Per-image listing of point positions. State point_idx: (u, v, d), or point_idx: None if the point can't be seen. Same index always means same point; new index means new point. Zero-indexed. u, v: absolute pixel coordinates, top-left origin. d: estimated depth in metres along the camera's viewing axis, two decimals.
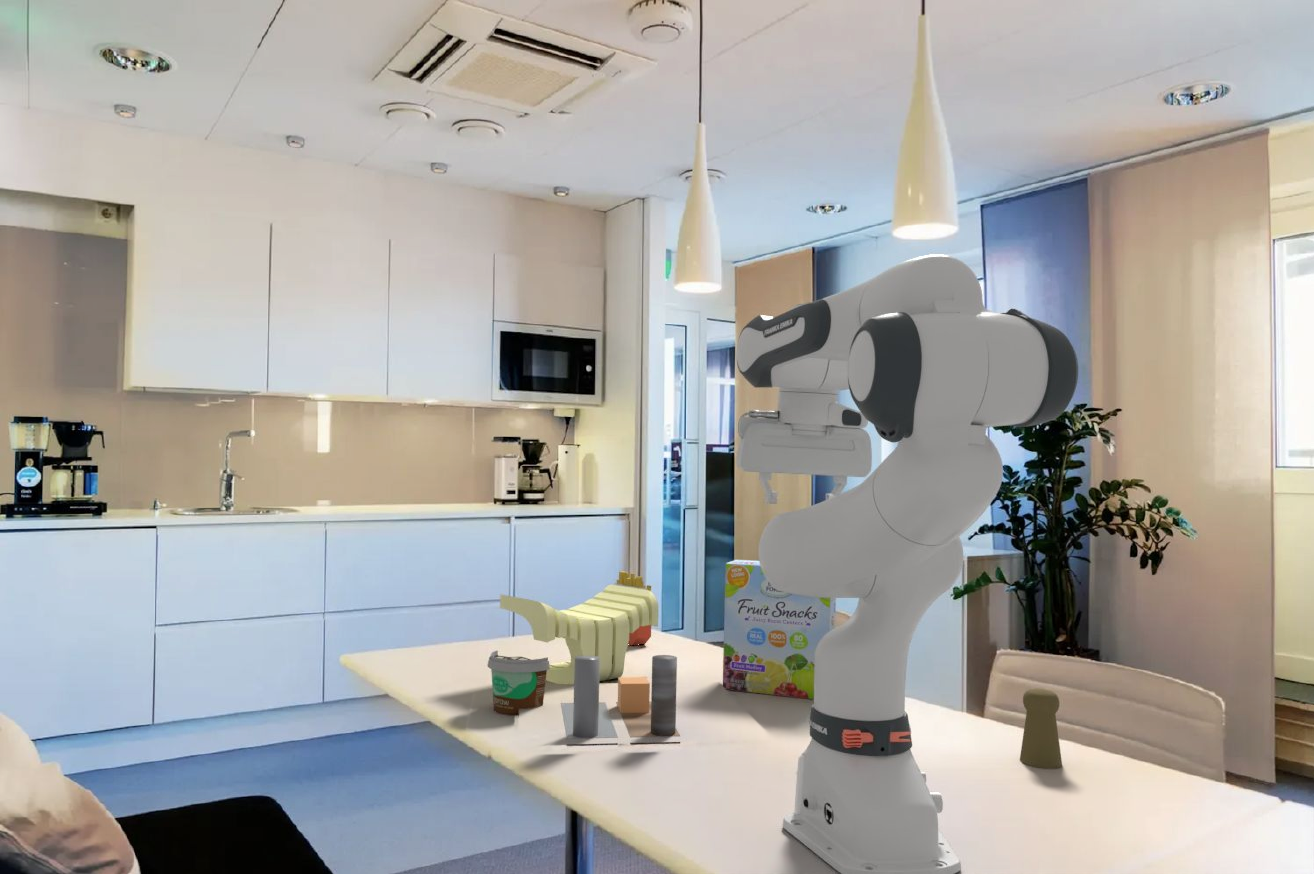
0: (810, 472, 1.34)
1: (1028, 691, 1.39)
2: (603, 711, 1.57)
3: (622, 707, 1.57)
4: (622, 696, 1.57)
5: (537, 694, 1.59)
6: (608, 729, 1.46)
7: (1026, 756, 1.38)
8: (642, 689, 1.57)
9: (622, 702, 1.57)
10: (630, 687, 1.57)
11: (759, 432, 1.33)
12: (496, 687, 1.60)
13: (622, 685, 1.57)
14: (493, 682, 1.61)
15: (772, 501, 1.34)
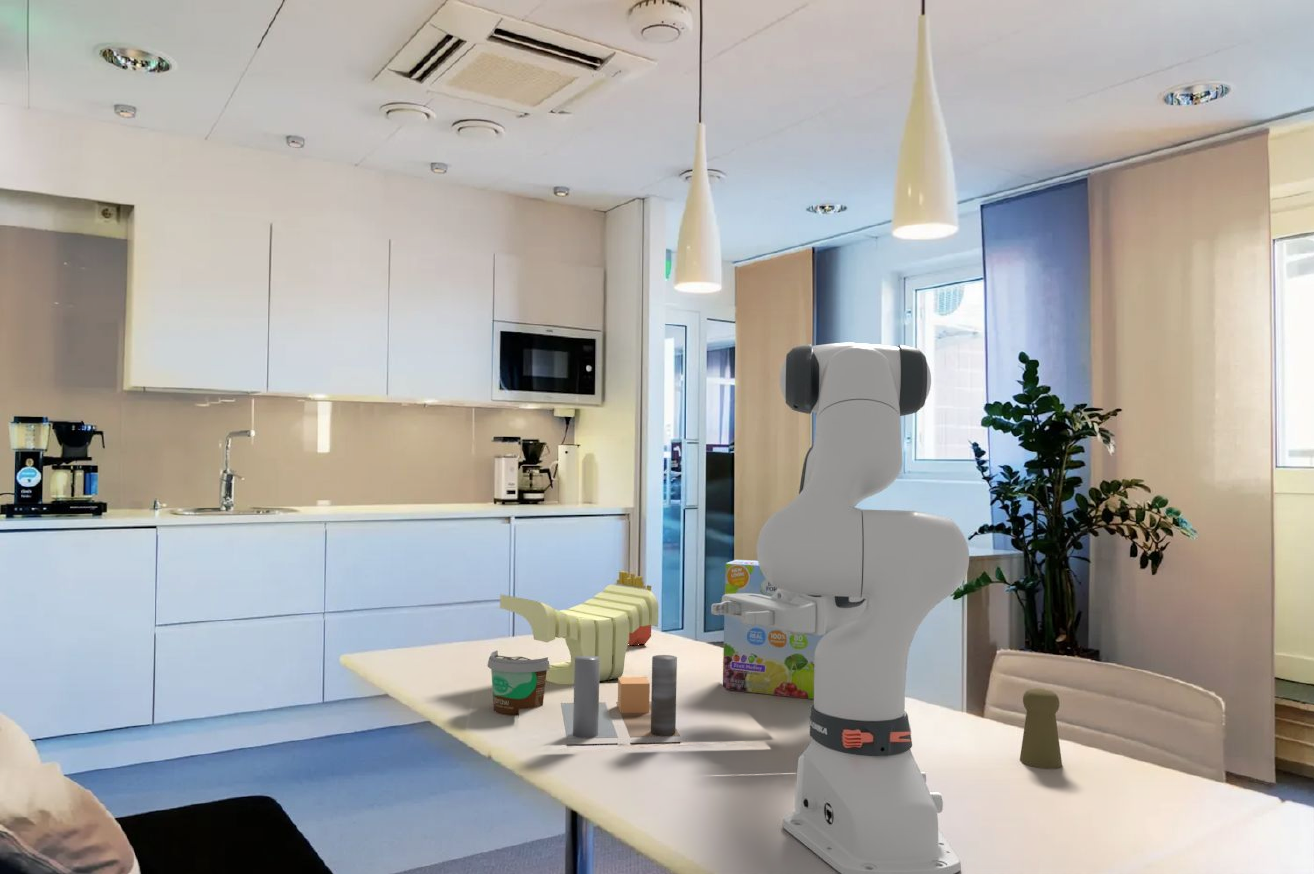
0: (755, 602, 1.54)
1: (1028, 691, 1.39)
2: (603, 711, 1.57)
3: (622, 707, 1.57)
4: (622, 696, 1.57)
5: (537, 694, 1.59)
6: (608, 729, 1.46)
7: (1026, 756, 1.38)
8: (642, 689, 1.57)
9: (622, 702, 1.57)
10: (630, 687, 1.57)
11: (754, 594, 1.63)
12: (496, 687, 1.60)
13: (622, 685, 1.57)
14: (493, 682, 1.61)
15: (715, 604, 1.56)
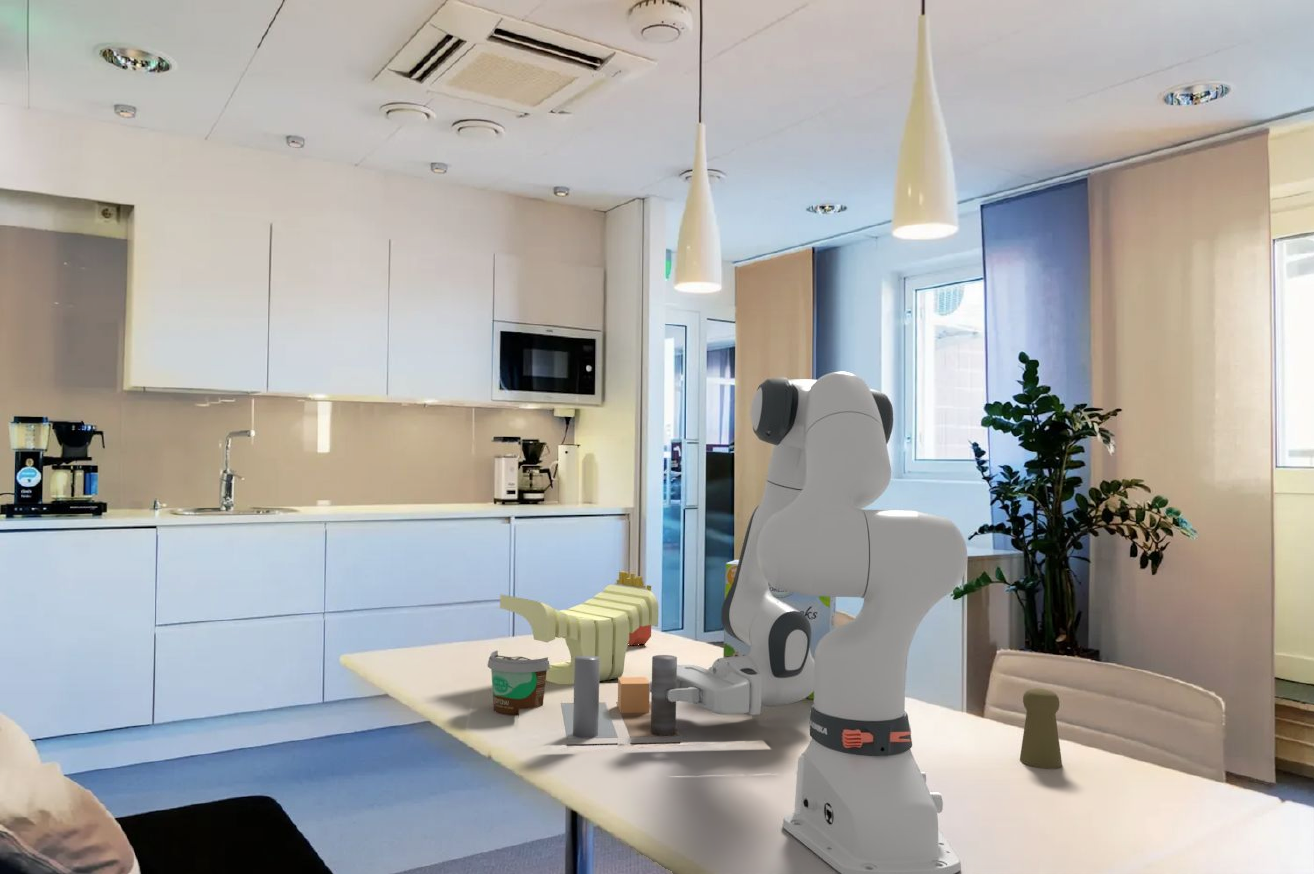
0: (688, 679, 1.47)
1: (1028, 691, 1.39)
2: (603, 711, 1.57)
3: (622, 707, 1.57)
4: (622, 696, 1.57)
5: (537, 694, 1.59)
6: (608, 729, 1.46)
7: (1026, 755, 1.38)
8: (642, 689, 1.57)
9: (622, 702, 1.57)
10: (630, 687, 1.57)
11: (691, 665, 1.57)
12: (496, 687, 1.60)
13: (622, 685, 1.57)
14: (493, 682, 1.61)
15: None
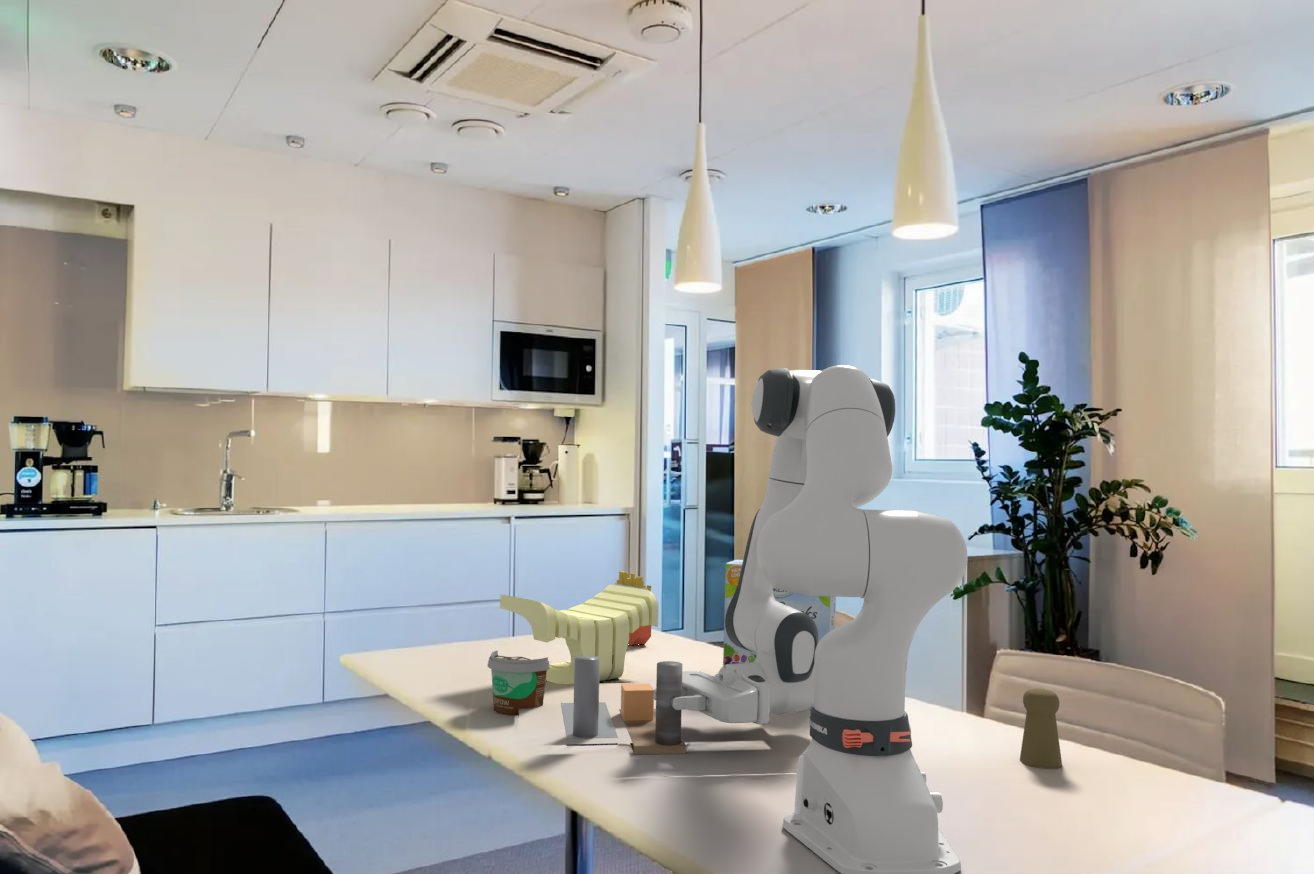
0: (693, 686, 1.42)
1: (1028, 691, 1.39)
2: (603, 711, 1.57)
3: (625, 715, 1.52)
4: (625, 703, 1.52)
5: (537, 694, 1.59)
6: (608, 729, 1.46)
7: (1026, 756, 1.38)
8: (646, 695, 1.52)
9: (625, 709, 1.52)
10: (634, 694, 1.52)
11: (697, 672, 1.52)
12: (496, 687, 1.60)
13: (625, 692, 1.52)
14: (493, 682, 1.61)
15: None
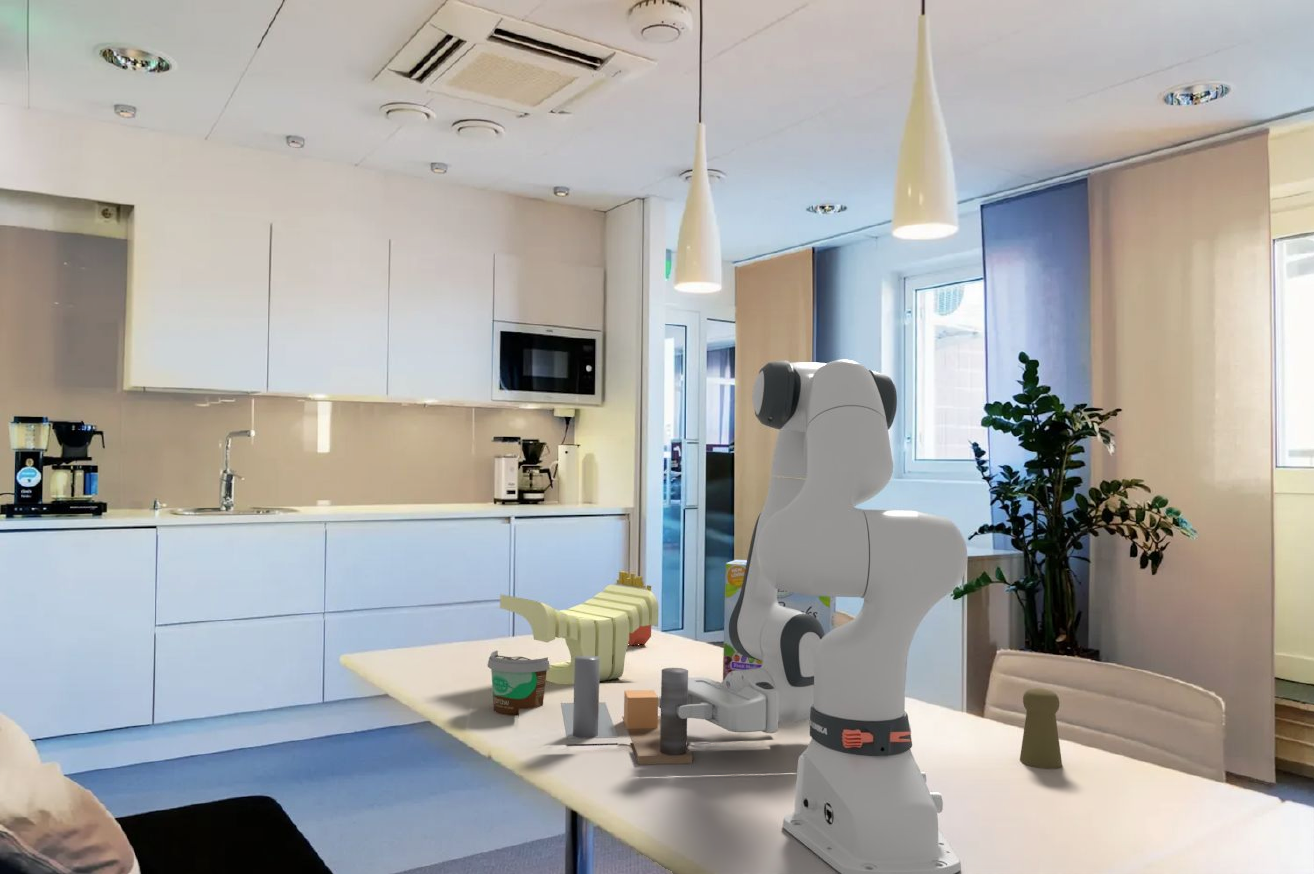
0: (699, 693, 1.37)
1: (1028, 691, 1.39)
2: (603, 711, 1.57)
3: (629, 722, 1.47)
4: (629, 711, 1.47)
5: (537, 694, 1.59)
6: (608, 729, 1.46)
7: (1026, 756, 1.38)
8: (650, 703, 1.48)
9: (629, 717, 1.47)
10: (637, 701, 1.47)
11: (702, 678, 1.47)
12: (496, 687, 1.60)
13: (629, 699, 1.47)
14: (493, 682, 1.61)
15: None
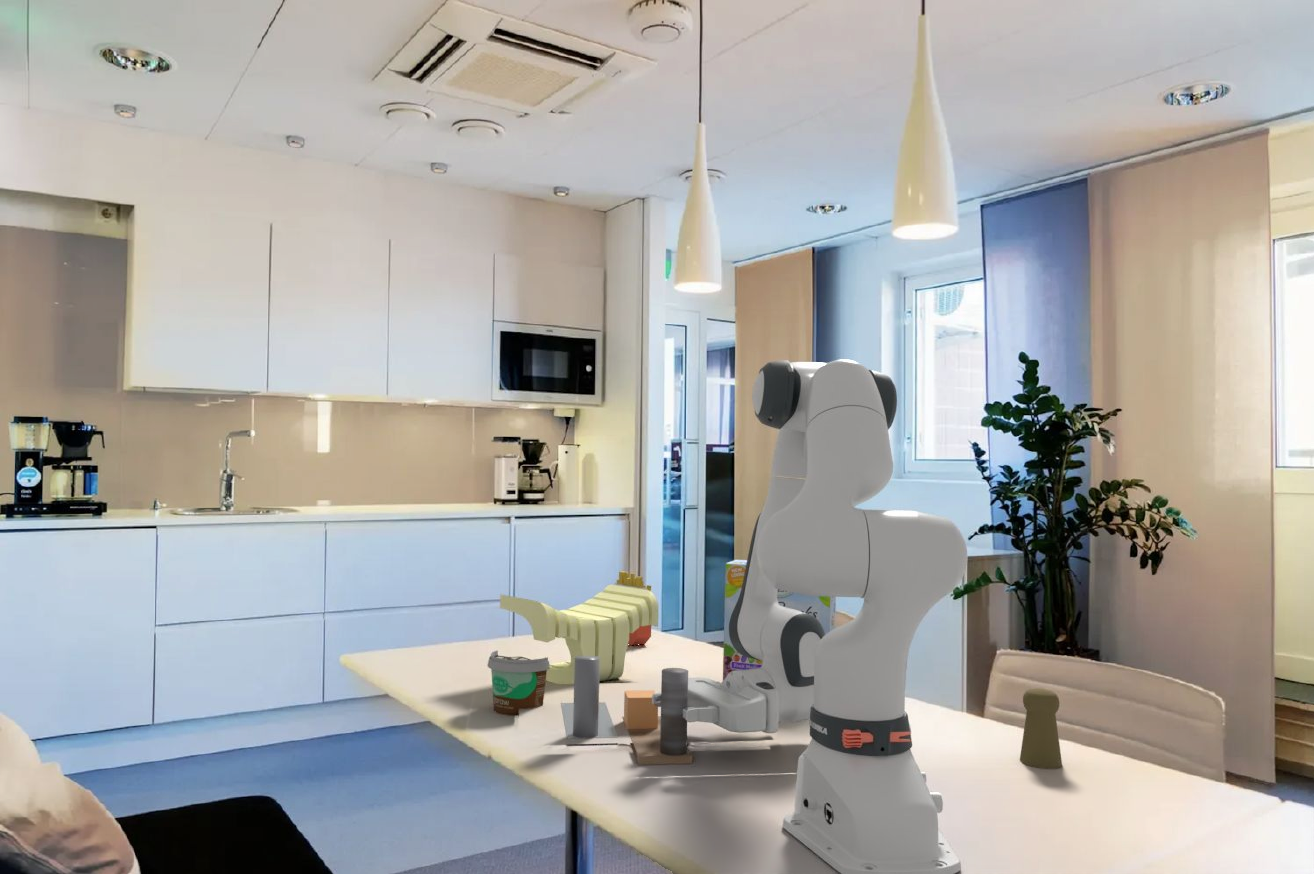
0: (699, 693, 1.37)
1: (1028, 691, 1.39)
2: (603, 711, 1.57)
3: (629, 723, 1.47)
4: (629, 711, 1.47)
5: (537, 694, 1.59)
6: (608, 729, 1.46)
7: (1026, 756, 1.38)
8: (650, 703, 1.47)
9: (629, 717, 1.47)
10: (637, 701, 1.47)
11: (703, 678, 1.47)
12: (496, 687, 1.60)
13: (629, 699, 1.47)
14: (493, 682, 1.61)
15: (656, 694, 1.39)
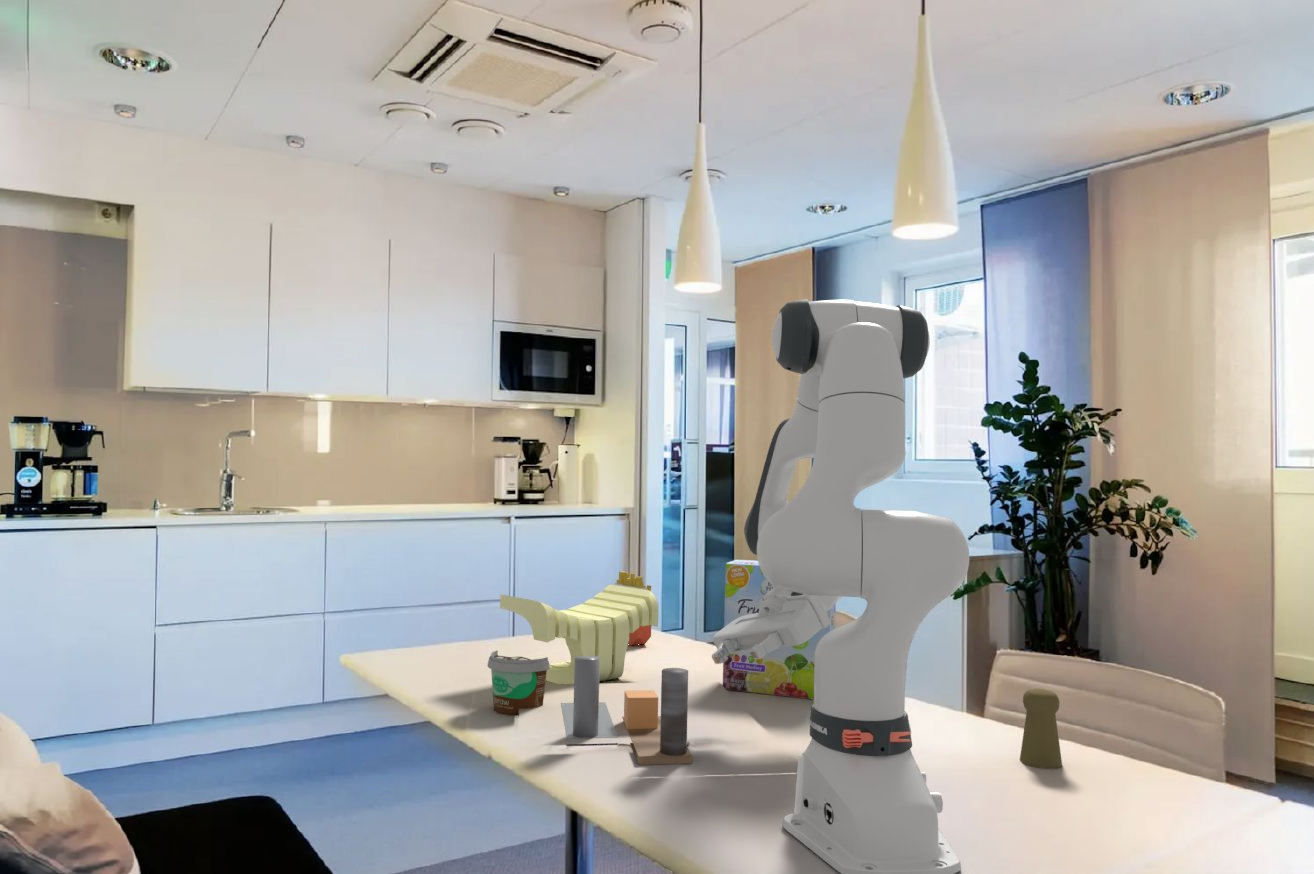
0: (751, 631, 1.44)
1: (1028, 691, 1.39)
2: (603, 711, 1.57)
3: (629, 723, 1.47)
4: (629, 711, 1.47)
5: (537, 694, 1.59)
6: (608, 729, 1.46)
7: (1026, 756, 1.38)
8: (650, 703, 1.47)
9: (629, 717, 1.47)
10: (637, 701, 1.47)
11: (739, 618, 1.54)
12: (496, 687, 1.60)
13: (629, 699, 1.47)
14: (493, 682, 1.61)
15: (715, 654, 1.45)
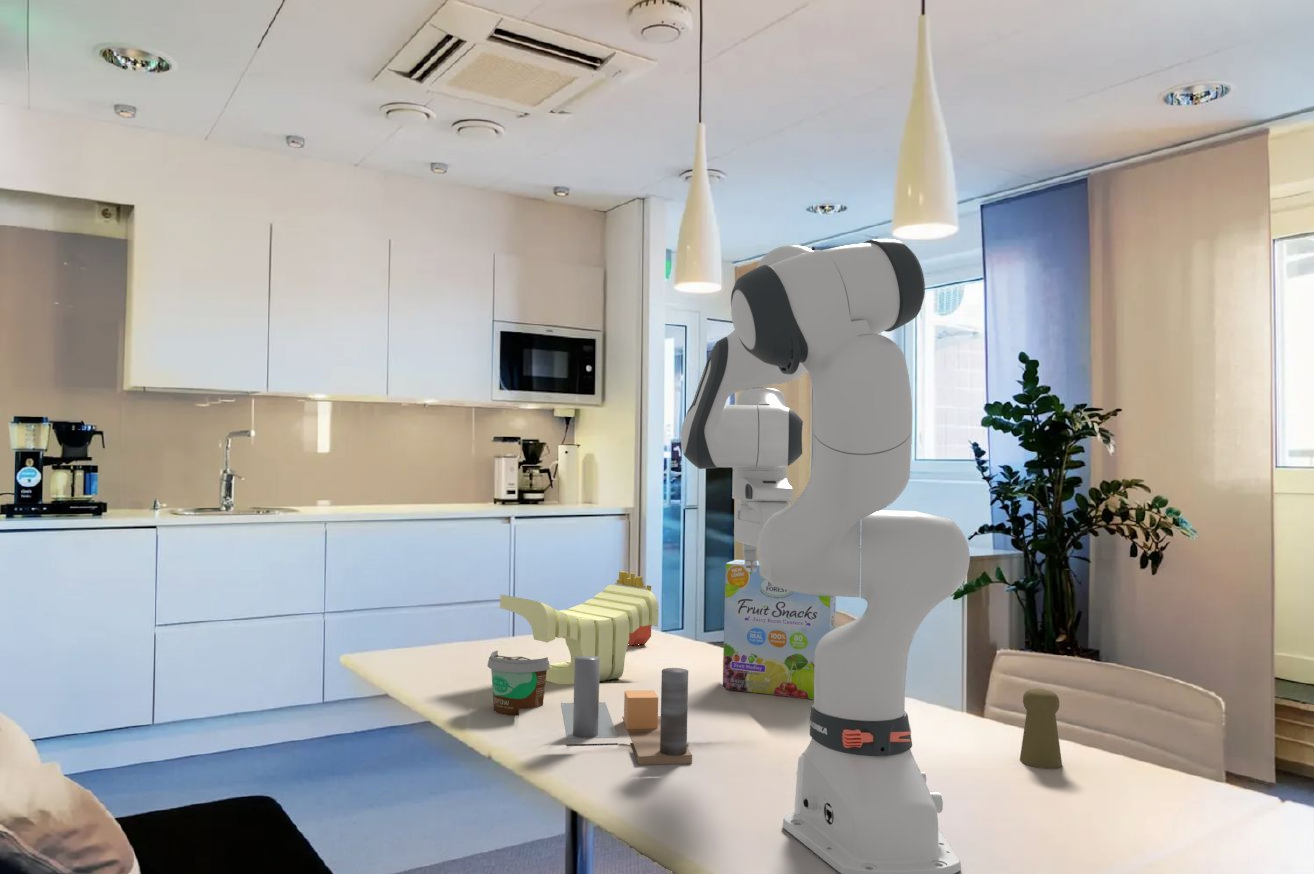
0: (749, 543, 1.45)
1: (1028, 691, 1.39)
2: (603, 711, 1.57)
3: (629, 723, 1.47)
4: (629, 711, 1.47)
5: (537, 694, 1.59)
6: (608, 729, 1.46)
7: (1026, 756, 1.38)
8: (650, 703, 1.47)
9: (629, 717, 1.47)
10: (637, 701, 1.47)
11: (737, 507, 1.53)
12: (496, 687, 1.60)
13: (629, 699, 1.47)
14: (493, 682, 1.61)
15: (745, 569, 1.50)
